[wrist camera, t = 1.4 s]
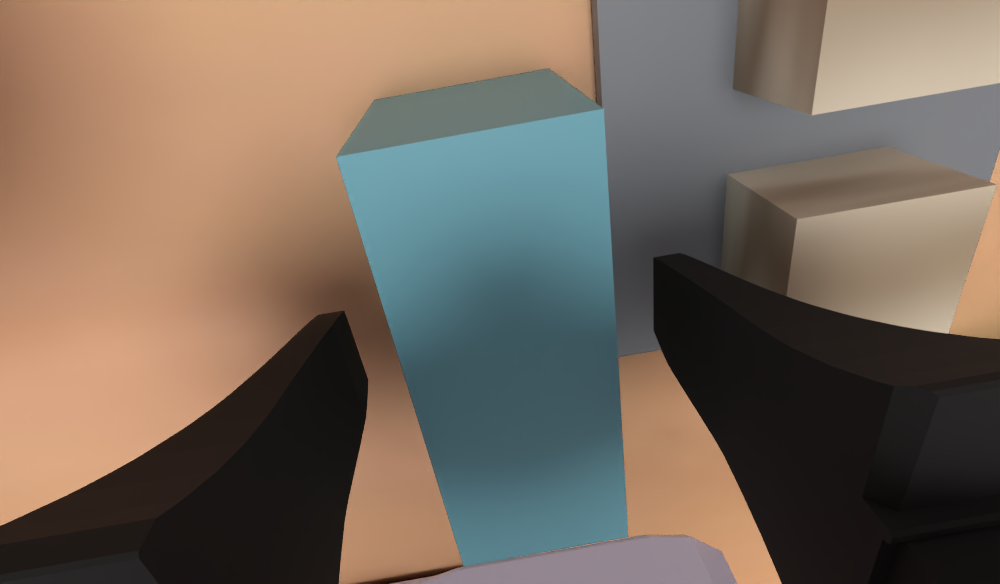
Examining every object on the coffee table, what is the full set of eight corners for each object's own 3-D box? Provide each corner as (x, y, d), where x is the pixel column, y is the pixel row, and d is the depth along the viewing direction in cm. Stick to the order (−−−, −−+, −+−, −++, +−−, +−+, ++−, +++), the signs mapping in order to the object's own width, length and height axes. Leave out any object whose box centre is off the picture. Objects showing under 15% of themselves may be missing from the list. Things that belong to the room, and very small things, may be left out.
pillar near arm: (857, 287, 15) (943, 348, 12) (718, 311, 15) (774, 377, 12) (887, 146, 13) (997, 184, 11) (727, 174, 13) (797, 219, 10)
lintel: (581, 399, 17) (628, 536, 13) (459, 421, 17) (463, 566, 13) (547, 67, 12) (603, 108, 8) (375, 98, 12) (335, 156, 8)
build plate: (938, 290, 16) (951, 299, 16) (609, 347, 16) (615, 357, 16) (1102, -255, 10) (1131, -265, 10) (581, -166, 10) (588, -174, 10)
